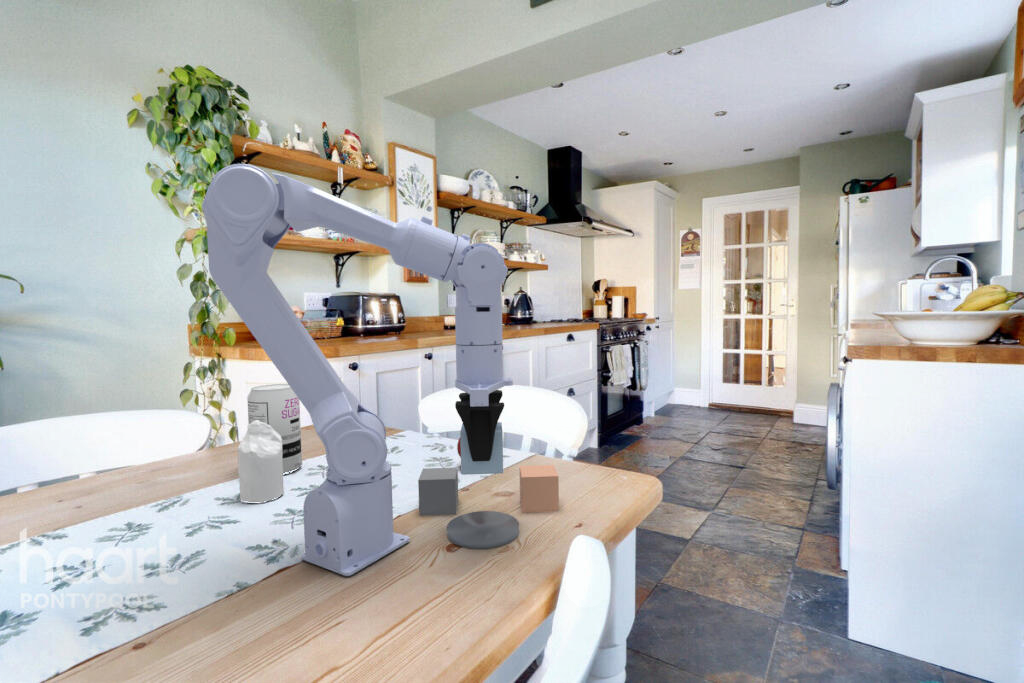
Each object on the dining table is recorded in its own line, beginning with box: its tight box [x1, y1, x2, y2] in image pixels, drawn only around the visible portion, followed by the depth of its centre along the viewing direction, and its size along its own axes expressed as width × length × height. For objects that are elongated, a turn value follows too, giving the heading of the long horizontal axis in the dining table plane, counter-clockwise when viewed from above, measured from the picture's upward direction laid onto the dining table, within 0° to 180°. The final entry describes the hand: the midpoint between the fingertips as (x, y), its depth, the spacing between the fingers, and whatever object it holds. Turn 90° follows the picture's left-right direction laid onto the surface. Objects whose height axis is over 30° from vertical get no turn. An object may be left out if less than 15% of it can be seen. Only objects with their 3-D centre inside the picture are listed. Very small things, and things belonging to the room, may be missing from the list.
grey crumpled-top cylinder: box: [237, 420, 285, 502], centre depth 75 cm, size 6×12×6 cm
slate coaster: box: [446, 510, 520, 550], centre depth 62 cm, size 9×9×1 cm
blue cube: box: [459, 421, 504, 476], centre depth 61 cm, size 5×5×5 cm
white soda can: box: [246, 383, 303, 473], centre depth 87 cm, size 8×8×15 cm
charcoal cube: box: [417, 467, 459, 517], centre depth 70 cm, size 5×5×5 cm
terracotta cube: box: [519, 464, 560, 513], centre depth 70 cm, size 5×5×5 cm
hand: (481, 453), depth 61 cm, fingers closed on blue cube, 5 cm apart
